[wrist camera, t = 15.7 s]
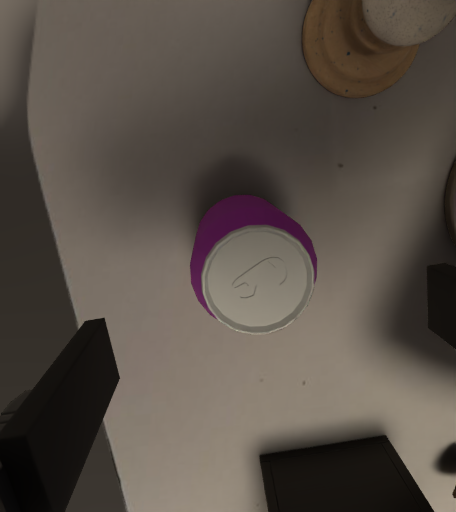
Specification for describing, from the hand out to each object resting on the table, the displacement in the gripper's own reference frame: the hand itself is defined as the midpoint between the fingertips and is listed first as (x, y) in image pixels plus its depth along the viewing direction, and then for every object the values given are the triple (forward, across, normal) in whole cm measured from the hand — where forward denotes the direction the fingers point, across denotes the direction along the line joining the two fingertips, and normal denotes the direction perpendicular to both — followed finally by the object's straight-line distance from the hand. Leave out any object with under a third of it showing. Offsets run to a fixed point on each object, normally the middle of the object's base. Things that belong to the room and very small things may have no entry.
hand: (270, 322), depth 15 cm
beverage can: (+18, 0, 0) cm, 18 cm away
